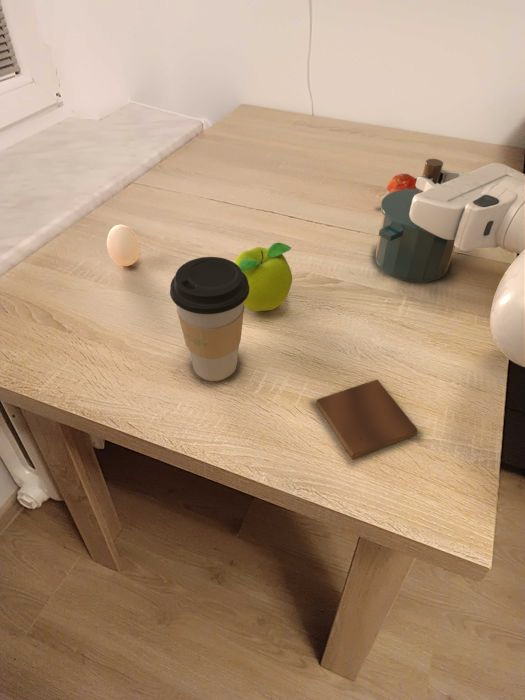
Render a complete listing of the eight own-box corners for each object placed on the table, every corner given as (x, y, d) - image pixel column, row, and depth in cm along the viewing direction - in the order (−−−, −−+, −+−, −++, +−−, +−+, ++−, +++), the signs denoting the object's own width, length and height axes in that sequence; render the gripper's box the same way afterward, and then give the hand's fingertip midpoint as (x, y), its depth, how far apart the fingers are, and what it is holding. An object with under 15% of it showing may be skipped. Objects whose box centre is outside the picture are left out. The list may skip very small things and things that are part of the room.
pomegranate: (390, 228, 100) (437, 200, 96) (372, 199, 96) (420, 169, 92) (385, 214, 106) (429, 187, 102) (368, 186, 102) (413, 157, 98)
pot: (472, 260, 88) (489, 211, 81) (404, 297, 80) (417, 246, 73) (417, 231, 95) (429, 183, 88) (349, 262, 87) (357, 212, 81)
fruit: (302, 310, 77) (306, 255, 71) (250, 331, 74) (250, 275, 67) (270, 280, 83) (271, 226, 76) (220, 298, 79) (217, 243, 72)
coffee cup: (168, 380, 67) (153, 289, 56) (199, 335, 73) (190, 246, 63) (234, 399, 64) (230, 308, 54) (259, 351, 71) (260, 262, 60)
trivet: (376, 384, 66) (377, 379, 66) (416, 435, 60) (418, 430, 60) (315, 404, 64) (316, 399, 63) (351, 459, 58) (353, 454, 57)
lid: (480, 217, 81) (498, 164, 75) (430, 245, 75) (445, 190, 69) (413, 188, 88) (425, 138, 82) (363, 211, 82) (371, 159, 76)
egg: (105, 265, 86) (95, 227, 81) (128, 252, 89) (120, 214, 84) (126, 276, 83) (117, 238, 78) (149, 262, 86) (142, 224, 81)
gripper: (555, 171, 72) (474, 141, 80) (468, 212, 63) (386, 174, 71) (538, 211, 76) (463, 179, 84) (454, 255, 67) (379, 214, 75)
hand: (427, 177), depth 78 cm, fingers closed on lid, 2 cm apart
